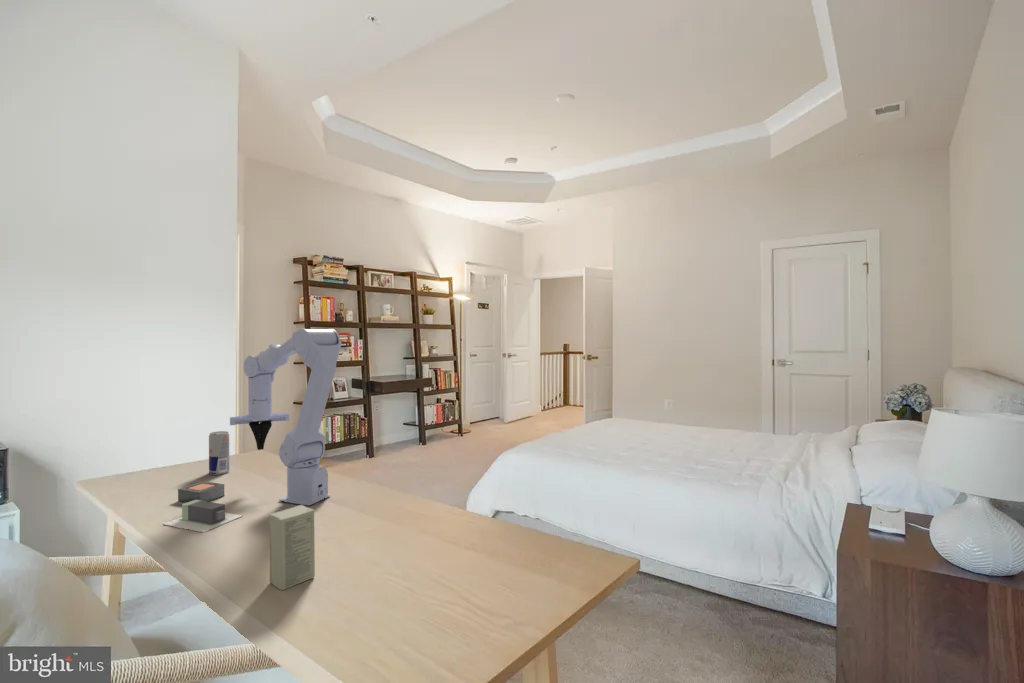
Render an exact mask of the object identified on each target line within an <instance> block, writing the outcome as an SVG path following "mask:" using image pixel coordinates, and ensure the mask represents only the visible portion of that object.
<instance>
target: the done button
mask: <svg viewBox="0 0 1024 683" xmlns="http://www.w3.org/2000/svg"><path fill="white" fill-rule="evenodd" d="M213 486H216V485H210V484H200V485H196V486H193V487H190V488H187V489H192V490H198V491H201V490H204V489H207V488H210V487H213Z"/></svg>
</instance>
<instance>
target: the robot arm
mask: <svg viewBox="0 0 1024 683" xmlns="http://www.w3.org/2000/svg"><path fill="white" fill-rule="evenodd" d="M342 343H343V342H342V341H341V338H340V335H339V333H338V331H337V330H336V329H334V328H327V329H326V328H303V327H301V328H298V329H297V330H296V331H293V332H292V335H291V337H290V338H289V339H287V340H286V341H285V342H283V343H282V344H277V343H271V344H269V345H268V348H267V349H265V350H262V351H260V352H259V354H257V355H247V356H246V357H245V359H244V361H243V371H244V374H245V375H246V377H247V380H248V392H247V393H248V394H247V395H248V414H247V415H246V414H245V415H238V416H230V417H229V425H230V426H236V425H246V424H248V426H249V428H250V429H251V432H252V434H253V436H254V440H255V444H256V448H257V450H258V451H260V450H264V447H265V442H266V439H267V436H268V434H269V432H270V430H271V428H272V425H273V423H272V422H282V421H284V422H287V421H288V422H289V421H290V413H289V412H281V413H278V412H277V413H274V412H273V409H272V408H273V407H272V406H273V404H272V398H273V396H272V392H273V391H272V384H273V383H272V382H274V379H275V374H276V371H277V369H279V368H281V367H282V366H284V365H285V364H287V363H288V361H289V359H290V357H291V356H293V355H295V354H298V357H299V358H300V360H301V361H302V362H303V364H304V366H306V367H308V368H309V369H310V375H309V377H308V382H307V386H306V389H305V393H304V395H303V396H304V397H303V401H302V404H301V408H300V413H299V415H298V418H297V419H298V420H297V424H296V426H295V427H294V428H293V429H291V430H290V431H288V433H286V435H285V438H284V440H283V441H282V443H281V444H280V446H279V451H278V455H279V460H280V461H281V462H282V464H283V465H284V467H286V468H287V469H286V474H287V475H286V476H287V477H286V479H287V482H286V483H287V484H286V486H287V487H286V488H287V490H286V494H287V495H286V496H283V497H281V498H279V502H282V501H284V502H283V503H289V504H296V505H304V506H311V505H314V504H316V503H318V502H321V501H322V499H323V500H325V499H327V498H329V497H331V496H330V495H331V494H330V493H329V472H328V470H327V468H326V467H324V466H322V465H320V464H319V463H320V462H321V459H322V458H323V457H324V455H325V451H326V440H327V439H326V438H327V437H326V435H325V433H324V432H323V430H321V429H320V427H321V424H322V420H323V416H324V413H325V410H326V407H327V406H326V405H327V403H328V399H329V395H330V392H331V387H332V385H333V381H334V377H335V373H336V369H337V362H338V360H339V359H338V358H339V354H340V352H341V348H342ZM272 412H273V413H272ZM324 498H325V499H324ZM320 500H321V501H320Z"/></svg>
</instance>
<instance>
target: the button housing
mask: <svg viewBox="0 0 1024 683" xmlns="http://www.w3.org/2000/svg"><path fill="white" fill-rule="evenodd" d="M200 484H210V485H216V486H213V487H210V488H207V489H204V490H201V491H198V490H192V489H187V488H190V487H193V486H196V485H200ZM223 495H224V496H225V484H224V483H217V482H211V481H205V480H204V481H200V482H197V483H194V484H190V485H186V486H184V487H181V488H178V489H177V501H178V502H183V503H187V502H190V501H193V500H201V501H207V502H211V501H214V500H216V498H217V499H219V497H220V498H222V497H224V496H223ZM221 496H222V497H221ZM213 499H214V500H213ZM210 500H211V501H210Z"/></svg>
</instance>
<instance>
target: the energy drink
mask: <svg viewBox="0 0 1024 683" xmlns="http://www.w3.org/2000/svg"><path fill="white" fill-rule="evenodd" d="M227 472H228V473H229V472H230V434H229V431H226V430H223V431H221V430H220V431H212V432H210V433H209V435H208V473H209V474H210V475H211V476H218V475H220V474H221V475H225V474H227Z"/></svg>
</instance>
